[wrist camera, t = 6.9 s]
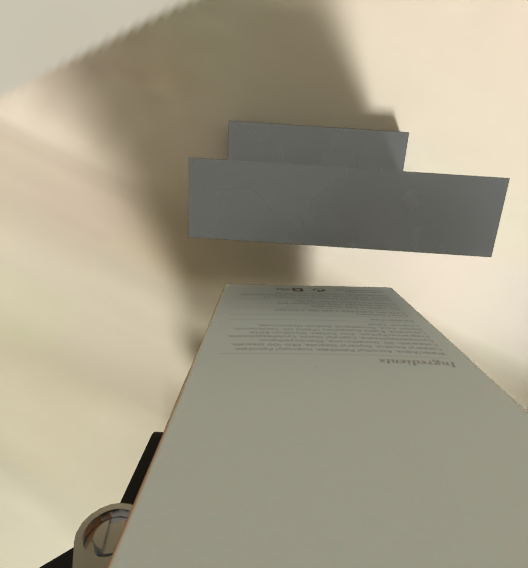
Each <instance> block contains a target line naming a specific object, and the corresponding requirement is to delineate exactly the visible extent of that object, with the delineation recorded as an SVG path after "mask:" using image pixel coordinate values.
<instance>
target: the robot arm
mask: <svg viewBox="0 0 528 568" xmlns="http://www.w3.org/2000/svg"><path fill="white" fill-rule="evenodd" d="M162 435H163V432H154V433H153V434H152V436H151V438H150V440H149V442H148V444H147V446H146V448H145V451H144V453H143V455H142V457H141V459H140V461H139V464H138V466H137V468H136V470H135V472H134V474H133V476H132V479H131V481H130V483H129V485H128V487H127V489H126V491H125V494H124V496H123V498H122V500H121V502H120V503H117V504H111V505H108V506H105V507H103V508H100V509H99V510H97V511H95V512H94V513H92V514H91V515H90V516H89V517H88V518H87V519H86V520H85V521H84V522H83V523H82V524H81V526H80V527H79V529H78V531H77V532H76V536H75V540H74V548H72V549H70V550H69V551H67V552H65V553H63V554H62V555H60V556H58V557H57V558H55V559H53V560H52V561H50V562H48V563H47V564H45V565H43V566H41V567H40V568H107V566H108V564H109V561H110V559H111V556H112V554H113V552H114V549H115V547H116V545H117V542H118V540H119V537H120V535H121V533H122V530H123V528H124V525H125V523H126V521H127V518H128V516H129V513H130V511H131V509H132V506H133V504H134V501H135V499H136V497H137V494H138V492H139V489H140V487H141V485H142V482H143V480H144V478H145V475H146V473H147V471H148V468H149V466H150V464H151V461H152V459H153V457H154V454H155V452H156V450H157V447H158V445H159V442H160V440H161V437H162Z"/></svg>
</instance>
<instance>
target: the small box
mask: <svg viewBox="0 0 528 568" xmlns="http://www.w3.org/2000/svg"><path fill="white" fill-rule="evenodd" d="M107 568H528V412H527V411H526V410H524V409H523V408H522V407H521V406H520V405H519V404H518V403H517V402H516V401H515V400H514V399H513V398H511V397H510V396H509V395H508V394H507V393H506V392H505V391H503V390H502V389H501V388H500V387H499V386H498V385H497V384H496V383H495V382H494V381H493V380H492V379H490V378H489V377H488V376H487V375H486V374H485V373H484V372H483V371H482V370H481V369H480V368H479V367H477V366H476V365H475V364H474V363H473V362H472V361H471V360H470V359H469V358H468V357H467V356H466V355H465V354H463V353H462V352H461V351H460V350H459V349H458V348H457V347H456V346H455V345H454V344H452V343H451V342H450V341H449V340H448V339H447V338H446V337H445V336H444V335H443V334H442V333H440V332H439V331H438V330H437V329H436V328H435V327H434V326H433V325H432V324H430V323H429V322H428V321H427V320H426V319H425V318H424V317H423V316H422V315H421V314H419V313H418V312H417V311H416V310H415V309H414V308H413V307H412V306H411V305H410V304H408V303H407V302H406V301H405V300H404V299H403V298H402V297H401V296H400V295H399V294H397V293H396V292H395V291H394V290H393V289H392V288H387V287H346V286H287V285H255V284H226V285H225V287H224V289H223V291H222V294H221V296H220V298H219V301H218V303H217V305H216V308H215V310H214V313H213V316H212V318H211V321H210V323H209V326H208V328H207V330H206V333H205V335H204V337H203V340H202V342H201V345H200V347H199V349H198V352H197V354H196V356H195V359H194V361H193V363H192V366H191V368H190V370H189V372H188V375H187V377H186V379H185V382H184V384H183V386H182V389H181V391H180V394H179V396H178V398H177V401H176V403H175V406H174V408H173V411H172V413H171V416H170V418H169V420H168V423H167V425H166V427H165V430H164V432H163V435H162V437H161V440H160V442H159V445H158V447H157V450H156V452H155V454H154V457H153V459H152V461H151V464H150V466H149V468H148V471H147V473H146V475H145V478H144V480H143V482H142V485H141V487H140V489H139V492H138V494H137V497H136V499H135V501H134V504H133V506H132V509H131V511H130V513H129V516H128V518H127V521H126V523H125V525H124V528H123V530H122V533H121V535H120V537H119V540H118V542H117V545H116V547H115V549H114V552H113V554H112V556H111V559H110V561H109V564H108V566H107Z"/></svg>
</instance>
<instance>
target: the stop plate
mask: <svg viewBox="0 0 528 568" xmlns="http://www.w3.org/2000/svg"><path fill="white" fill-rule="evenodd" d="M408 136H409V132H395V131H379V130H364V129H348V128H333V127H317V126H301V125H286V124H270V123H255V122H239V121H229V131H228V160H219V159H204V158H189V237H194V238H209V239H224V240H239V241H254V242H270V243H285V244H300V245H315V246H330V247H345V248H361V249H376V250H391V251H406V252H421V253H436V254H452V255H467V256H482V257H491V256H492V252H493V247H494V243H495V239H496V234H497V230H498V226H499V222H500V217H501V213H502V209H503V205H504V200H505V196H506V192H507V187H508V183H509V179H510V178H497V177H482V176H467V175H451V174H436V173H420V172H405V171H403V168H404V161H405V155H406V149H407V142H408Z"/></svg>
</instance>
